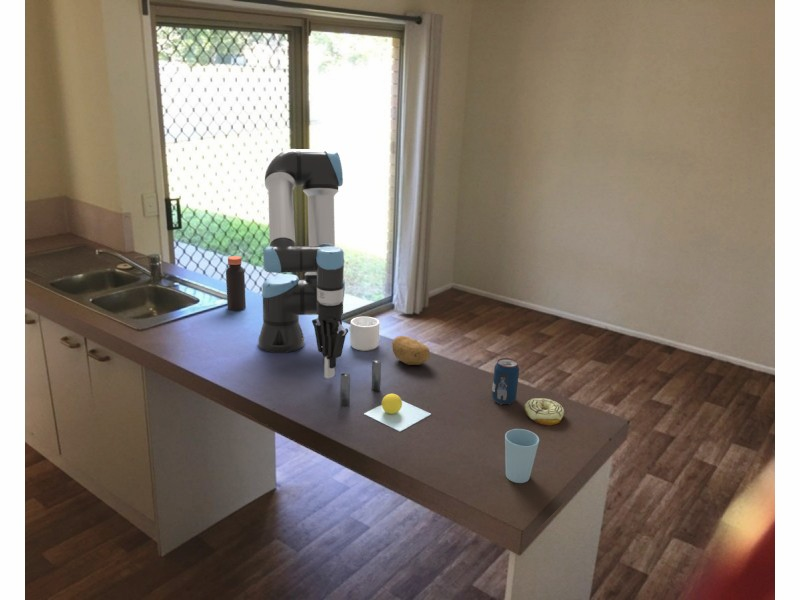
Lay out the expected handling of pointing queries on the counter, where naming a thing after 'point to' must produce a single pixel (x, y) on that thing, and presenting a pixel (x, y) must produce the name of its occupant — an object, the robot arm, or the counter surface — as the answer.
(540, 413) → the decorated donut
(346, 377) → the post
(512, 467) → the cup
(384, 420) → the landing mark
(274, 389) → the counter surface
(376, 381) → the post
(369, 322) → the mug
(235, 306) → the bottle
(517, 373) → the soda can
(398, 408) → the ball
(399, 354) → the potato
